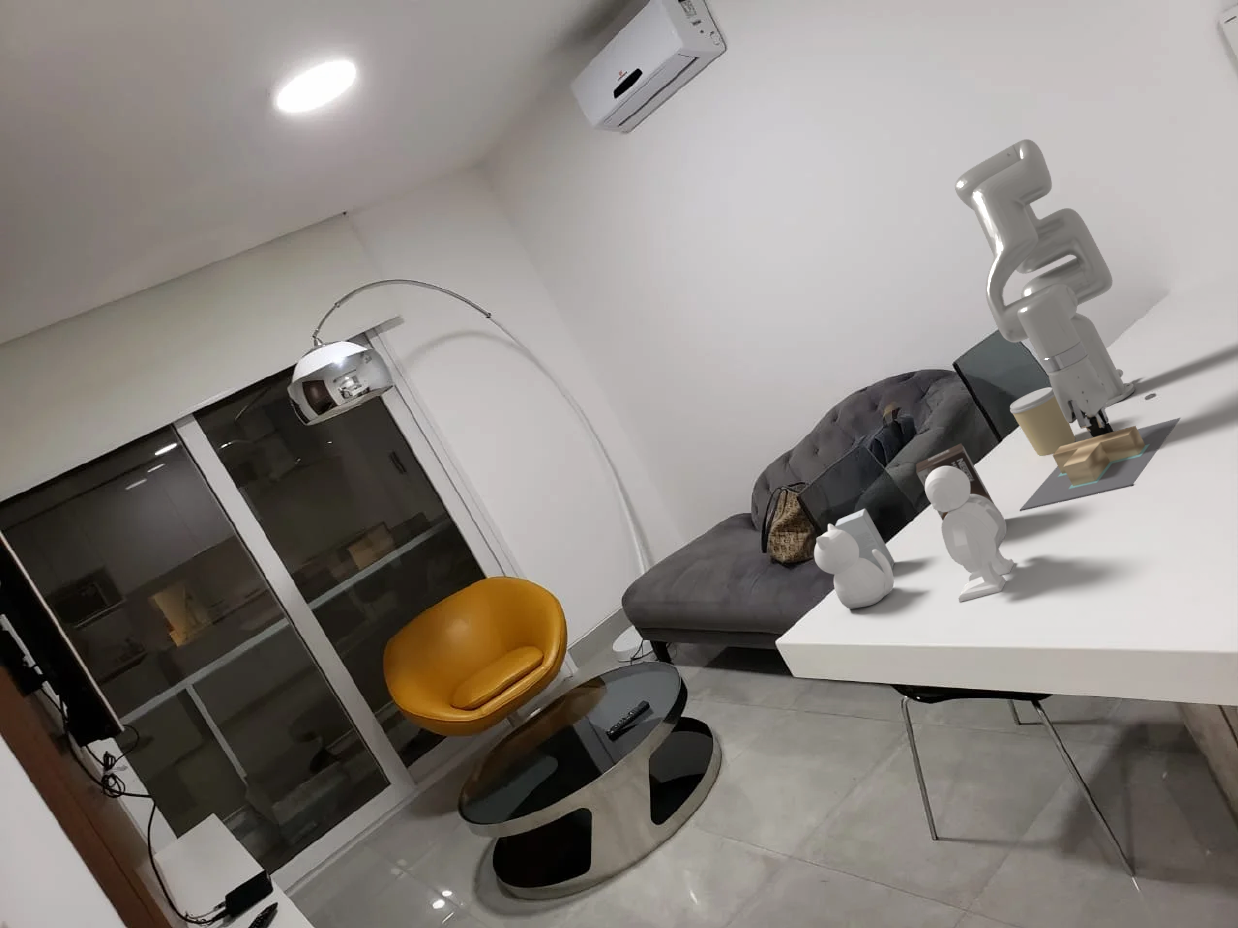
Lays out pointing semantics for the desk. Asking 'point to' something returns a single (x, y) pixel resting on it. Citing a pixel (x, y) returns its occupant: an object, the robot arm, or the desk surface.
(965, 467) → the coffee box
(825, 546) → the cat figurine
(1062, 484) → the rubber mat
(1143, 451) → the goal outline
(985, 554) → the white humanoid figurine
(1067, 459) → the pine T block
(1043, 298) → the robot arm
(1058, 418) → the coffee cup
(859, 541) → the skincare box
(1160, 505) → the desk surface
